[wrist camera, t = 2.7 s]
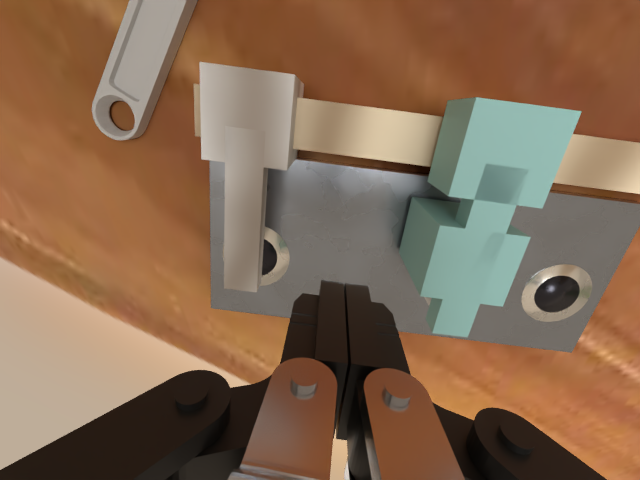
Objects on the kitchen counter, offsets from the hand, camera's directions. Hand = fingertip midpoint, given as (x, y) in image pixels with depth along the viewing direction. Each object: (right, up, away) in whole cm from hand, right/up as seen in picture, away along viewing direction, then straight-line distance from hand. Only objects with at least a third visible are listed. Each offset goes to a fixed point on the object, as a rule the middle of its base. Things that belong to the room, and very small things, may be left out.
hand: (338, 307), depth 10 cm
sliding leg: (+7, +4, +8) cm, 11 cm away
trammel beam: (+6, +5, +10) cm, 12 cm away
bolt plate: (+5, +1, +11) cm, 12 cm away
